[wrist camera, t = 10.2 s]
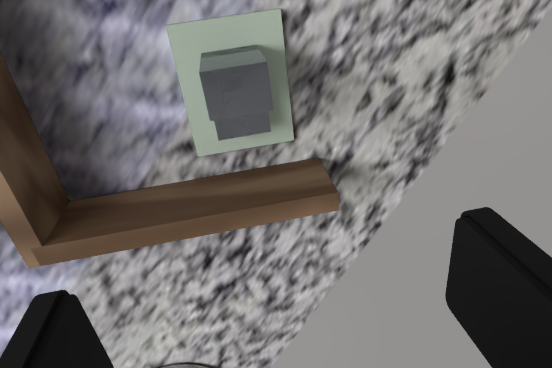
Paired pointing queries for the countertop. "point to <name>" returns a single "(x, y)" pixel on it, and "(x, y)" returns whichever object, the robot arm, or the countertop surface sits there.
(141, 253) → the countertop surface
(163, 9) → the countertop surface
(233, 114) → the metal block
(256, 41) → the pad
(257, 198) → the wall
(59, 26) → the countertop surface
